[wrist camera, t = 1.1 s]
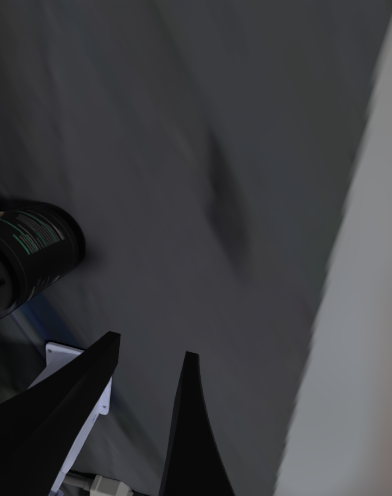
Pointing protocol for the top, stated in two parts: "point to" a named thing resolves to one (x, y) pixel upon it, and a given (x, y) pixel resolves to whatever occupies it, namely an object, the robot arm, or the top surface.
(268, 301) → the top surface
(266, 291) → the top surface
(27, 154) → the top surface
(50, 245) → the supplement bottle
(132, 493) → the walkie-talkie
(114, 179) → the top surface
